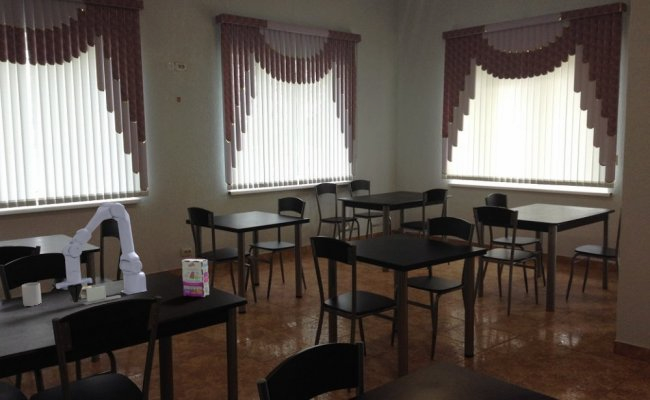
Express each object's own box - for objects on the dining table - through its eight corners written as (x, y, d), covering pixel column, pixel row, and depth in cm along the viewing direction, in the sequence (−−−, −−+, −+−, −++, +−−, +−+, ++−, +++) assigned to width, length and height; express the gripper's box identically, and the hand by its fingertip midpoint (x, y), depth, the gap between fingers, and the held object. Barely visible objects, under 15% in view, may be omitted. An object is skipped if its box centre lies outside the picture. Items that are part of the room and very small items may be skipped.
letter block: (91, 295, 276) (91, 285, 276) (92, 297, 272) (91, 288, 272) (81, 296, 275) (80, 286, 274) (81, 299, 270) (80, 289, 270)
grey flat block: (104, 297, 267) (104, 285, 266) (105, 298, 266) (105, 286, 265) (86, 301, 262) (85, 289, 261) (87, 302, 261) (86, 289, 260)
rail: (118, 296, 272) (118, 295, 272) (121, 297, 270) (121, 296, 270) (83, 303, 261) (83, 302, 261) (85, 305, 260) (85, 303, 260)
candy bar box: (210, 294, 271) (208, 259, 269) (203, 297, 266) (202, 261, 264) (189, 293, 275) (187, 257, 273) (182, 295, 270) (180, 260, 269)
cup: (24, 307, 258) (22, 287, 257) (21, 302, 267) (19, 283, 266) (42, 304, 262) (41, 284, 261) (39, 300, 270) (37, 280, 270)
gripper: (87, 266, 264) (89, 296, 266) (52, 272, 255) (55, 303, 256) (93, 269, 259) (95, 299, 260) (58, 274, 250) (60, 306, 251)
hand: (75, 301), depth 258 cm, fingers closed
